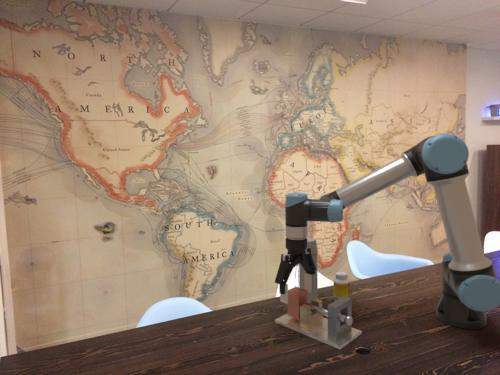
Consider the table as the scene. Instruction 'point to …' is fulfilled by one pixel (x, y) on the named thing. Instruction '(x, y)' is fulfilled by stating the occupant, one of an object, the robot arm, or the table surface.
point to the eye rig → (324, 323)
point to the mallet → (300, 297)
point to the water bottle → (314, 294)
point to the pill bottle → (341, 285)
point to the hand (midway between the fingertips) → (296, 296)
